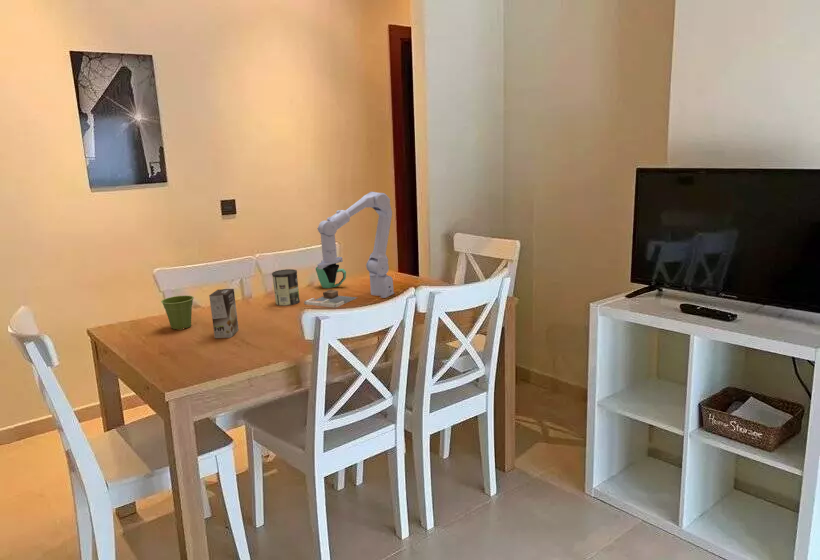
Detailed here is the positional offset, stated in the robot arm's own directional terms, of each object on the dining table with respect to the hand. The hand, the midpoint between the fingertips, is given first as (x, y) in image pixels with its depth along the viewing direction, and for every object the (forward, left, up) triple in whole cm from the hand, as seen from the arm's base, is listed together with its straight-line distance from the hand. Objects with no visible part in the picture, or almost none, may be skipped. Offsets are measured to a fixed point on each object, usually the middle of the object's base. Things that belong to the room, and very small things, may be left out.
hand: (332, 282), depth 263 cm
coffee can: (+20, +6, -10) cm, 23 cm away
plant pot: (+39, +46, -10) cm, 61 cm away
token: (+7, -7, -9) cm, 13 cm away
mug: (+17, -22, -10) cm, 29 cm away
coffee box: (+15, +46, -10) cm, 49 cm away
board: (+3, -2, -9) cm, 10 cm away
